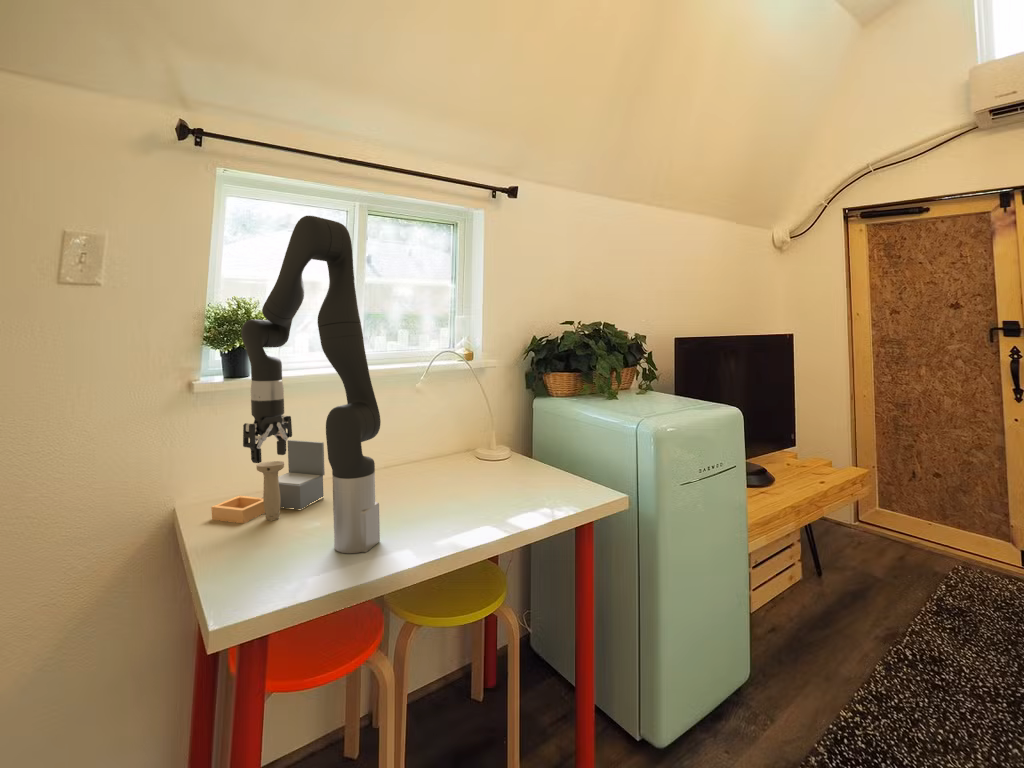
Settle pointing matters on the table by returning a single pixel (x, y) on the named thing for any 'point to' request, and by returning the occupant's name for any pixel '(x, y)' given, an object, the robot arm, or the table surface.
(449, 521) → the table surface
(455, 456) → the table surface
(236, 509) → the chair with orange tray
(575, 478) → the table surface
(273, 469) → the handle
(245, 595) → the table surface
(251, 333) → the robot arm
